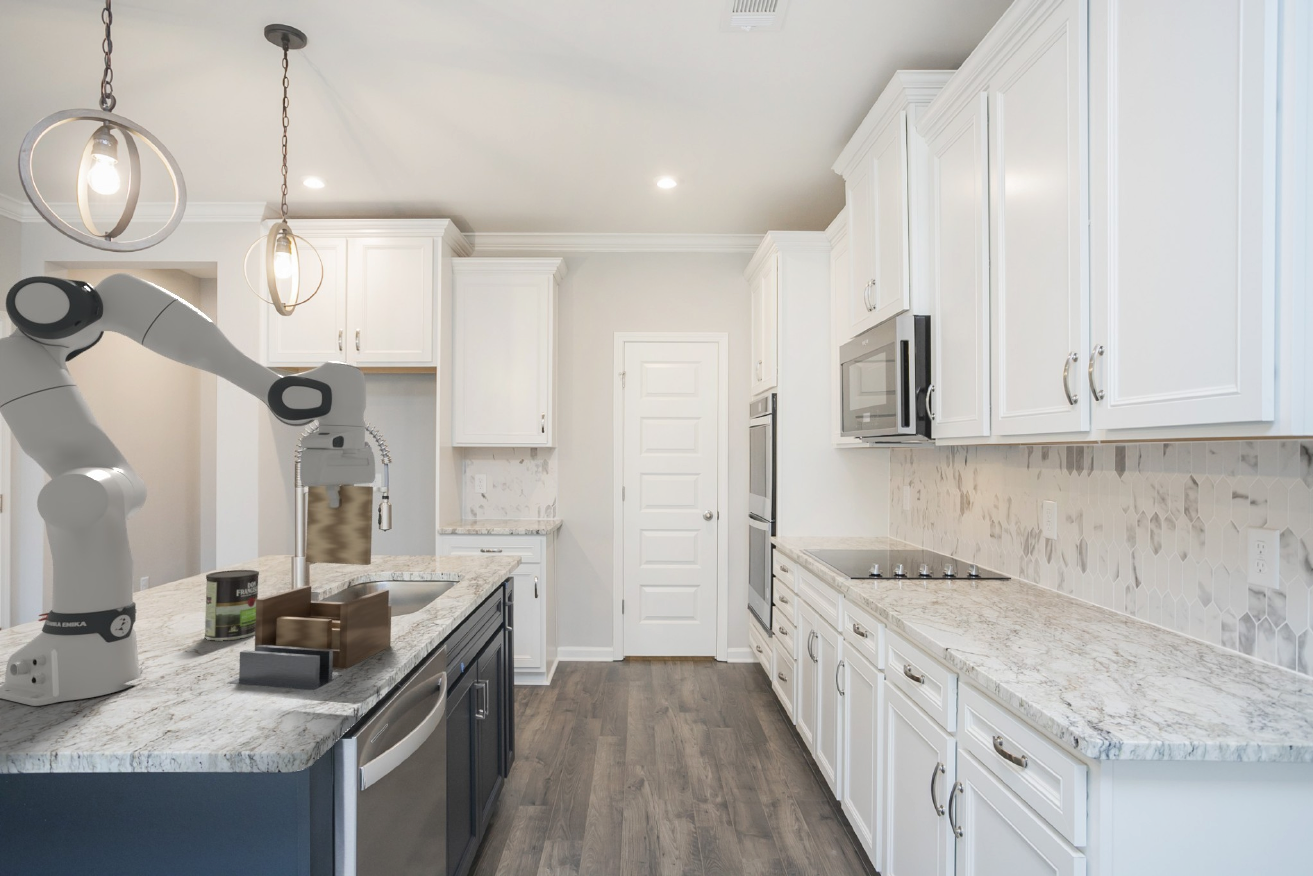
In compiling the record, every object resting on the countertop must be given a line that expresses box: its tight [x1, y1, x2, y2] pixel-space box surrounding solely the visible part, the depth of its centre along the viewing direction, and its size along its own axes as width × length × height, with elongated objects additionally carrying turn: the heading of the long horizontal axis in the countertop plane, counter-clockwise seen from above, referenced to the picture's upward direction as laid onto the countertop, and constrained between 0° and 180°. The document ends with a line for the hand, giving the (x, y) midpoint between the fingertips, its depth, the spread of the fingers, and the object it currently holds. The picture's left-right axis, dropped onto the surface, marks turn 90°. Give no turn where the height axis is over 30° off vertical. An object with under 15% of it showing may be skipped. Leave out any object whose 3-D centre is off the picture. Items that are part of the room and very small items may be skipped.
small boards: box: [276, 617, 340, 649], centre depth 134 cm, size 14×4×8 cm, turn 80°
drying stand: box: [227, 645, 344, 691], centre depth 121 cm, size 17×8×6 cm, turn 80°
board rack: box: [254, 585, 392, 670], centre depth 137 cm, size 20×16×14 cm
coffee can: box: [204, 569, 260, 642], centre depth 155 cm, size 10×10×14 cm
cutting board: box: [305, 485, 374, 566], centre depth 140 cm, size 14×1×16 cm, turn 80°
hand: (339, 506), depth 141 cm, fingers closed on cutting board, 1 cm apart
